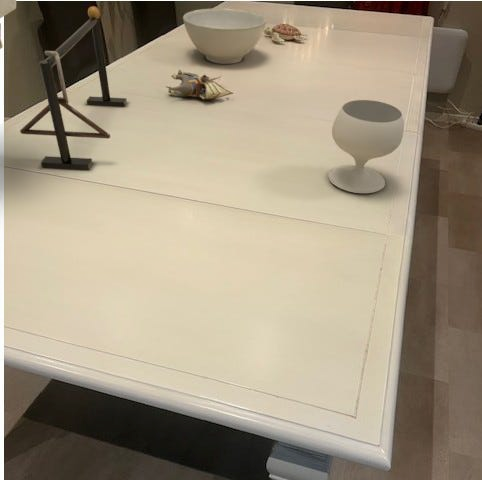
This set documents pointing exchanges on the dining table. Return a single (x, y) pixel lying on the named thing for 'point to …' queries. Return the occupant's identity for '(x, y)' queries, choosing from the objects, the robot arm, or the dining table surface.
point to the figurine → (197, 86)
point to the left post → (102, 67)
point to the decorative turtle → (284, 33)
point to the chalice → (365, 142)
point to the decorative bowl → (224, 32)
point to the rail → (54, 106)
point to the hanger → (64, 103)
